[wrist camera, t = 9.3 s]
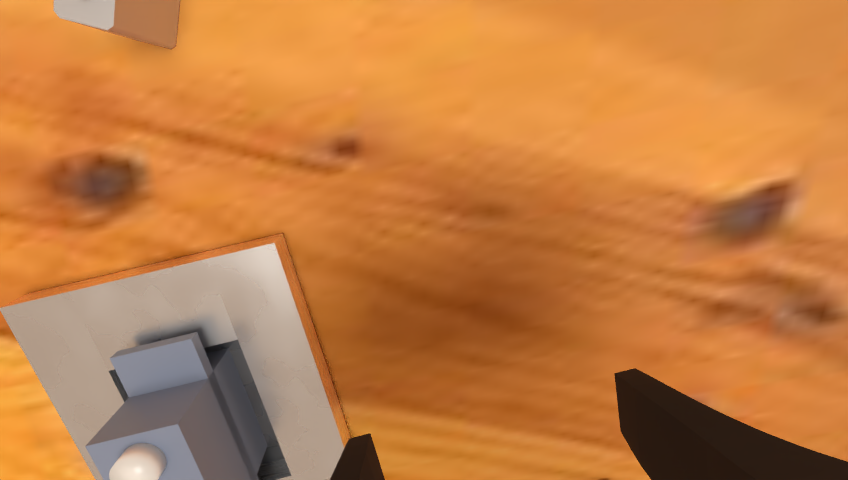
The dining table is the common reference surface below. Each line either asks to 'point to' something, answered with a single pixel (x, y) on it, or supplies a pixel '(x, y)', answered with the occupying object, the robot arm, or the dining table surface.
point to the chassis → (217, 329)
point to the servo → (179, 417)
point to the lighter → (126, 18)
